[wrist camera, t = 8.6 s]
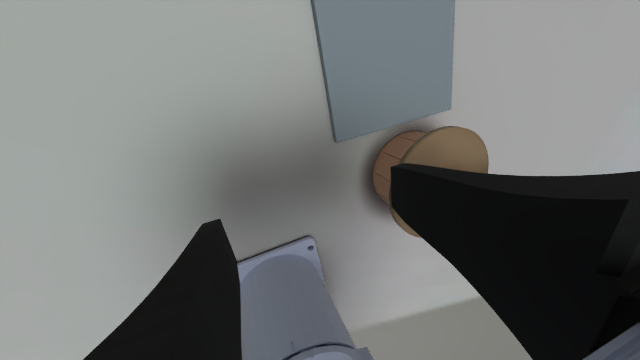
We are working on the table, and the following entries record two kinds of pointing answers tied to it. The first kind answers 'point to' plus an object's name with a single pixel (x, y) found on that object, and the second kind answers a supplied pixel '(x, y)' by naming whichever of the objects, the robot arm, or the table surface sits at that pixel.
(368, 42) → the mat
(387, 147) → the bowl
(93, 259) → the table surface
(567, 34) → the table surface
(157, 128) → the table surface
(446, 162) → the lid
